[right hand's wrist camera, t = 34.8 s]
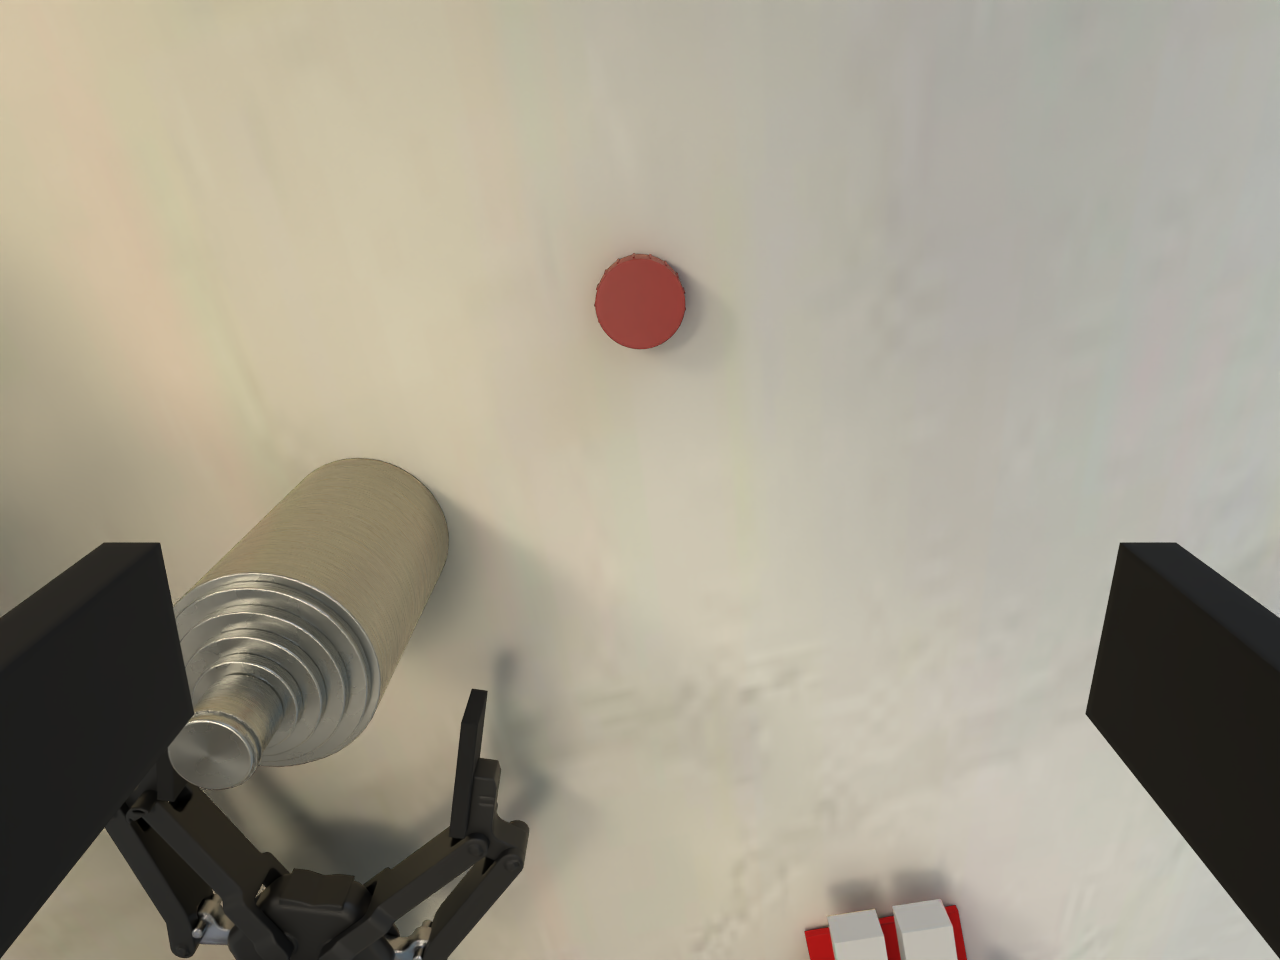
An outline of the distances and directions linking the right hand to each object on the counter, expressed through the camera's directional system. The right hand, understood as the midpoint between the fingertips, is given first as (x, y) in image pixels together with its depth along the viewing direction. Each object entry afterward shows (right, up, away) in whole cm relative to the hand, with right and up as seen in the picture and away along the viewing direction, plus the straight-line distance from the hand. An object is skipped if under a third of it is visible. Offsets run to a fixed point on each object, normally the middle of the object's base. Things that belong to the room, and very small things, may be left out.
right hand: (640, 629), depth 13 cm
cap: (0, +10, +27) cm, 29 cm away
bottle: (-14, -1, +33) cm, 36 cm away
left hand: (-14, -7, +29) cm, 33 cm away
